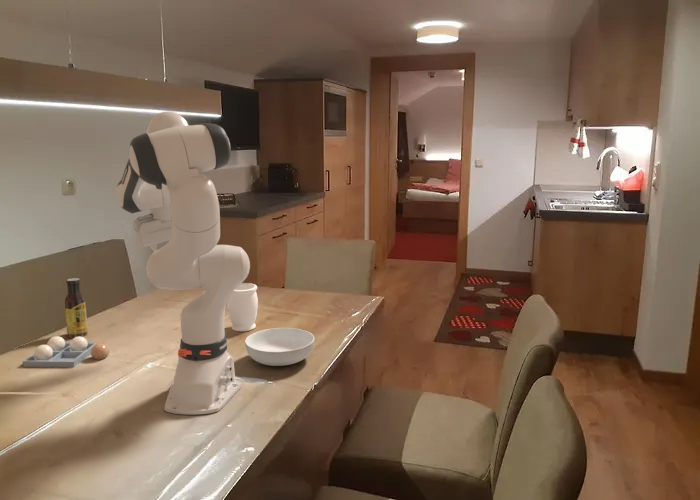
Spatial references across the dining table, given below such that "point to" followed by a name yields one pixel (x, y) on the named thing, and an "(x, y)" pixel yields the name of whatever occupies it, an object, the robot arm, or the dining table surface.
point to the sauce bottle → (75, 310)
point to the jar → (243, 307)
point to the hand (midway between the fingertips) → (173, 252)
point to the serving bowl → (279, 346)
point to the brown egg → (99, 351)
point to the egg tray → (60, 358)
